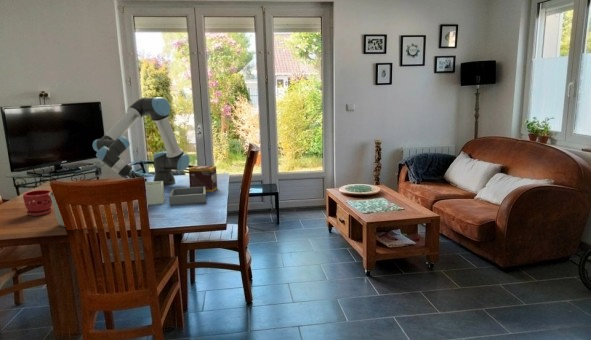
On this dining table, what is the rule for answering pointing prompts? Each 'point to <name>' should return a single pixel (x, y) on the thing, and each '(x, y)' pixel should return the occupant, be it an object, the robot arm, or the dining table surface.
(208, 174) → the supplement box
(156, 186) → the small crate
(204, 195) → the large crate
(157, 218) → the dining table surface
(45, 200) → the plant pot
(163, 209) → the dining table surface
